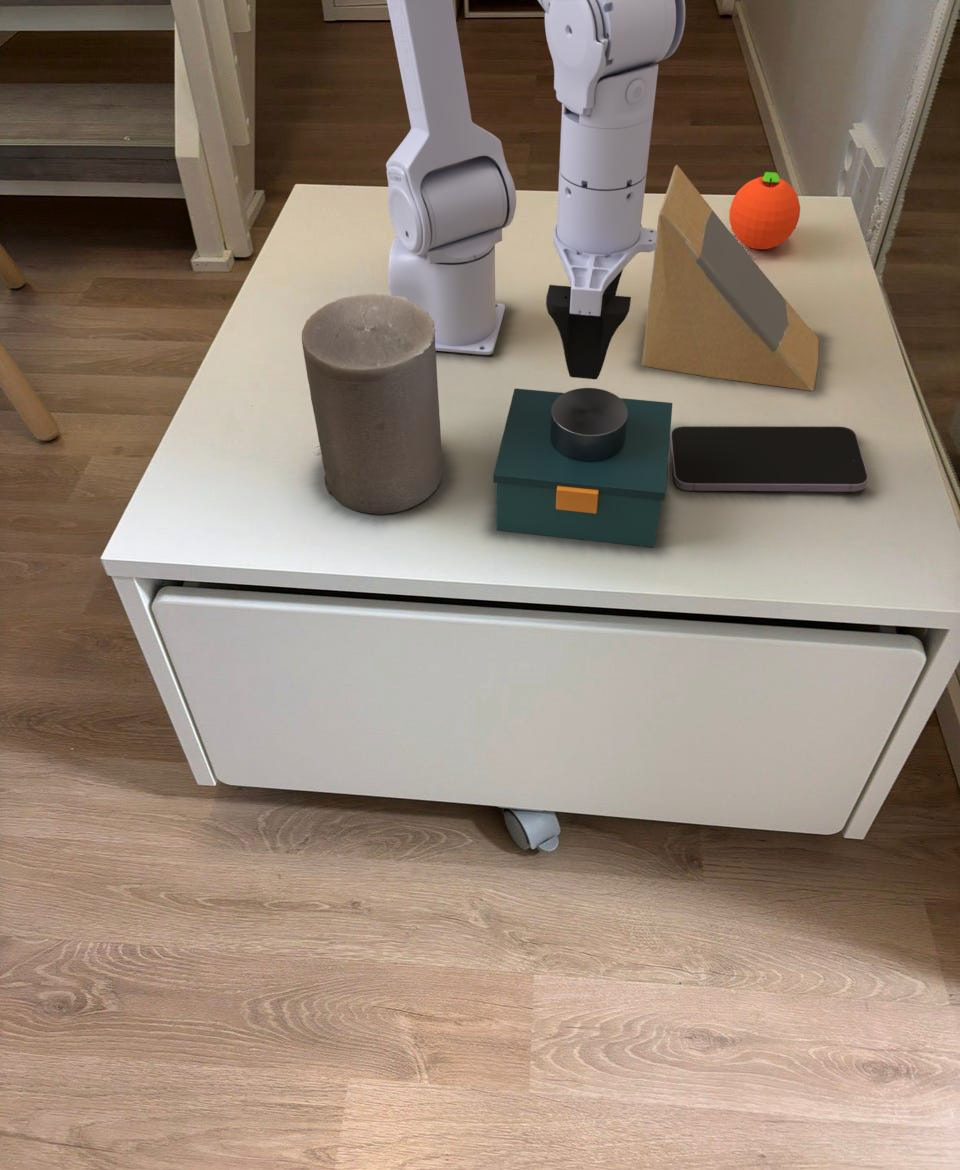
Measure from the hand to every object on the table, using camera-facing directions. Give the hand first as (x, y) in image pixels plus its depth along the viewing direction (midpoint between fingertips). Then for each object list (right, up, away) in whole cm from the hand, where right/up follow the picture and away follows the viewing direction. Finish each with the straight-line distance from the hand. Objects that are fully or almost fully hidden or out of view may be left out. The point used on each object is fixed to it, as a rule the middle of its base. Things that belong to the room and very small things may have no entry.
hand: (589, 344), depth 77 cm
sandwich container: (+15, +3, +17) cm, 22 cm away
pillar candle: (-16, -9, +6) cm, 19 cm away
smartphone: (+15, -8, +6) cm, 18 cm away
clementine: (+21, +17, +29) cm, 40 cm away
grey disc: (0, -7, 0) cm, 7 cm away
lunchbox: (0, -11, +4) cm, 12 cm away
